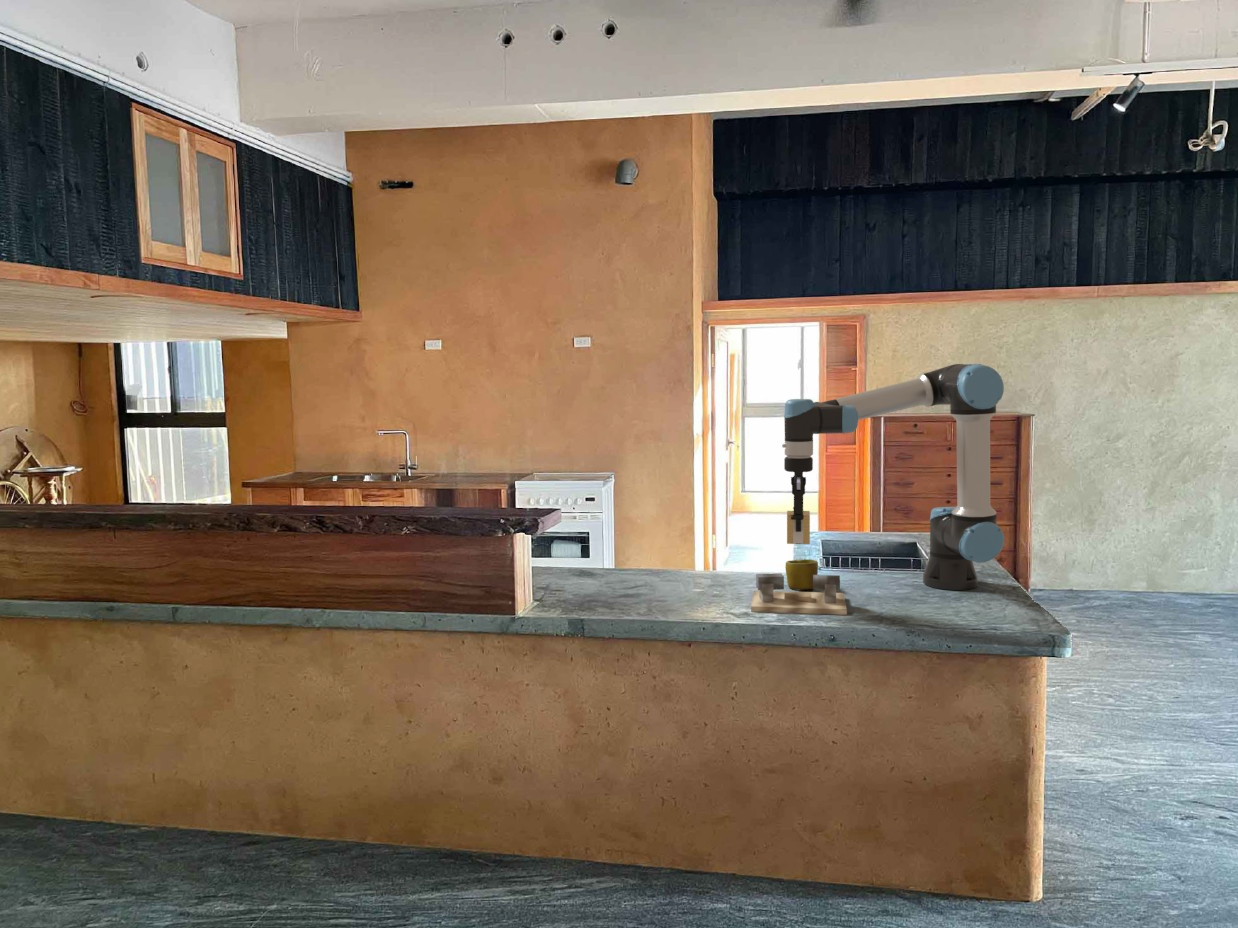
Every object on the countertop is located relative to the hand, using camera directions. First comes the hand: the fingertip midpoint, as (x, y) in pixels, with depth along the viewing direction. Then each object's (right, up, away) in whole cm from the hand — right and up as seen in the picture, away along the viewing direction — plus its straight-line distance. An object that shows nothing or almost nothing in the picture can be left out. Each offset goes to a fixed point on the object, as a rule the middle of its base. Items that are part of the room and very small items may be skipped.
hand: (798, 540), depth 244 cm
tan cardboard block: (0, 0, 0) cm, 0 cm away
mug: (+5, -16, +22) cm, 27 cm away
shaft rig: (0, -18, +2) cm, 18 cm away
